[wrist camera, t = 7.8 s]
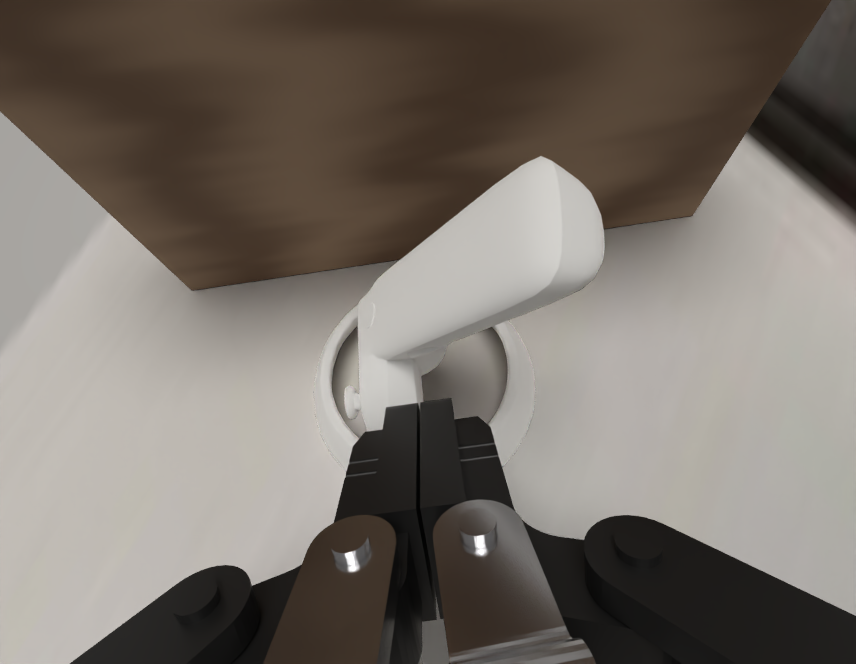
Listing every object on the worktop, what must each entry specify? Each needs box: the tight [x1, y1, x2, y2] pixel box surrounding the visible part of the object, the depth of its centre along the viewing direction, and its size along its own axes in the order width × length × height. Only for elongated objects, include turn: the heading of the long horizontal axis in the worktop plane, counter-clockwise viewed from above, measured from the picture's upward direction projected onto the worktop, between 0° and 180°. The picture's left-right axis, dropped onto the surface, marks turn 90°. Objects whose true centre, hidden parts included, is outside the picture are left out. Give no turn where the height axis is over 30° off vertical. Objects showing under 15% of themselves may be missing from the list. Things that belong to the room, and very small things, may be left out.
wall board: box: [0, 0, 831, 290], centre depth 10 cm, size 20×4×18 cm, turn 97°
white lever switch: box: [313, 156, 605, 472], centre depth 13 cm, size 8×12×7 cm
